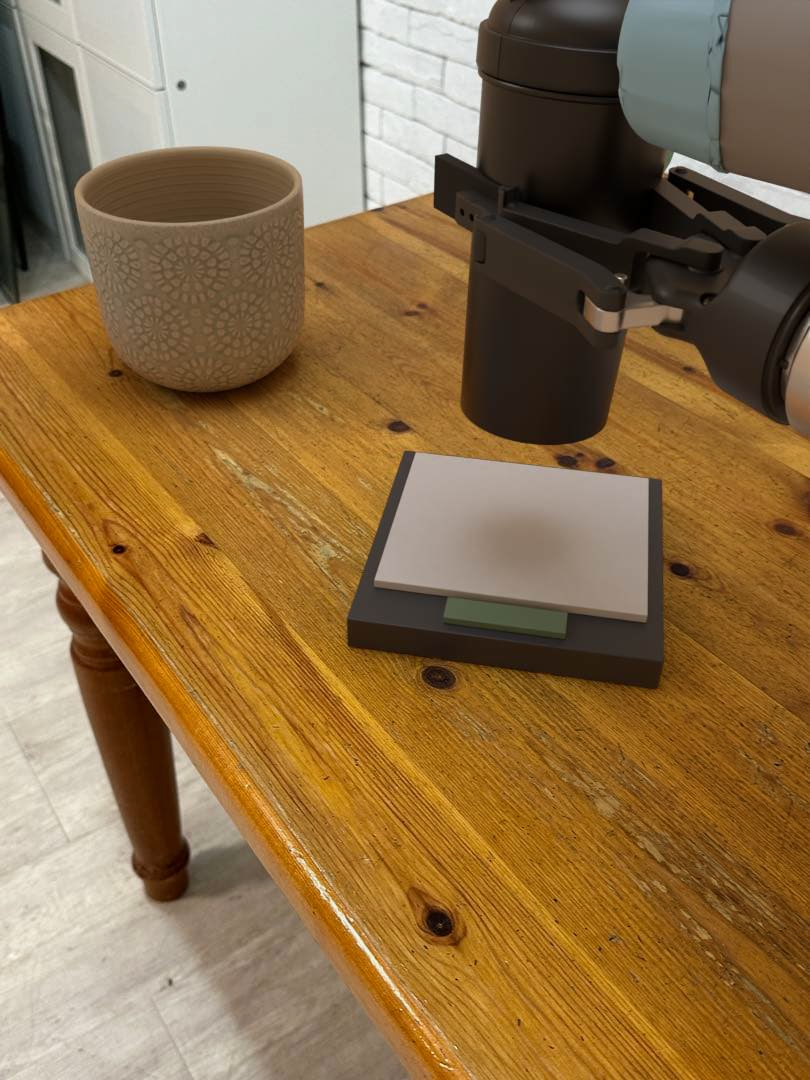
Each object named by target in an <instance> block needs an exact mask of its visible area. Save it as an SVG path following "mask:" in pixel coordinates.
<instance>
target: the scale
mask: <svg viewBox="0 0 810 1080" xmlns="http://www.w3.org/2000/svg"><path fill="white" fill-rule="evenodd" d="M663 522H664V521H663V478H655V477H654V478H653V477H646V476H638V475H637V476H636V475H627V474H619V473H611V472H610V473H609V472H601V471H600V472H599V471H593V470H592V471H591V470H585V469H584V470H583V469H573V468H566V467H565V468H564V467H558V466H549V465H541V464H540V465H539V464H530V463H521V462H511V461H504V460H495V459H494V460H493V459H487V458H486V459H485V458H477V457H468V456H460V455H449V454H441V453H432V452H423V451H413V450H404V451H403V453H402V456H401V459H400V462H399V465H398V468H397V470H396V474H395V477H394V480H393V482H392V486H391V489H390V491H389V494H388V497H387V500H386V502H385V506H384V509H383V511H382V515H381V518H380V520H379V523H378V525H377V526H378V527H377V529H376V532H375V535H374V538H373V541H372V544H371V547H370V549H369V553H368V555H367V559H366V562H365V565H364V568H363V570H362V572H361V573H362V574H361V576H360V579H359V582H358V585H357V588H356V591H355V593H354V597H353V599H352V602H351V605H350V608H349V611H348V613H347V617H346V633H347V634H346V635H347V646H348V647H355V648H363V649H370V650H377V651H383V652H390V653H391V652H392V653H398V654H404V655H412V656H420V657H427V658H435V659H440V660H449V661H455V662H460V663H461V662H462V663H470V664H476V665H484V666H490V667H491V666H492V667H498V668H505V669H511V670H519V671H526V672H534V673H541V674H547V675H555V676H562V677H568V678H569V677H570V678H576V679H583V680H592V681H597V682H603V683H611V684H620V685H627V686H633V687H641V688H649V689H654V690H655V689H657V690H658V688H659V685H660V681H661V676H662V672H663V668H664V664H665V663H664V662H665V645H664V643H665V641H664V640H665V638H664V637H665V634H664V628H665V627H664V533H663V532H664V531H663V530H664V527H663V526H664V525H663Z"/></svg>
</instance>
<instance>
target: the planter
mask: <svg viewBox="0 0 810 1080" xmlns="http://www.w3.org/2000/svg"><path fill="white" fill-rule="evenodd" d="M303 185H304V184H303V177H302V175H301V174H300V172H299V170H298V169H297V168H296V167H295V166H294V165H292V164H290V163H289V162H287V161H286V160H285V159H282V158H280V157H278V156H276V155H275V156H274V155H271V154H269V153H266V152H265V153H264V152H261V151H256V150H252V149H246V148H239V147H230V146H214V145H213V146H212V145H197V146H195V145H194V146H191V145H190V146H177V147H176V146H175V147H166V148H158V149H151V150H146V151H141V152H136V153H131V154H127V155H125V156H121V157H118V158H115V159H112V160H109V161H106V162H104V163H101V164H100V165H97V166H96V167H94V168H92V169H91V170H89V171H87V172H86V173H85V174H84V175H83V176H82V177H80V179H79V180H78V181H77V183H76V185H75V187H74V191H73V193H74V201H75V206H76V211H77V216H78V217H77V218H78V221H79V226H80V231H81V234H82V240H83V243H84V248H85V252H86V253H85V254H86V257H87V262H88V266H89V269H90V273H91V277H92V283H93V287H94V291H95V295H96V300H97V305H98V309H99V314H100V317H101V321H102V324H103V327H104V331H105V334H106V336H107V340H108V341H109V344H110V346H111V347H112V349H113V350H114V352H115V353H116V355H117V356H118V358H119V359H120V360H121V361H122V362H123V363H124V364H125V365H126V366H127V367H128V368H130V369H131V370H132V371H133V372H135V373H136V374H138V375H139V376H141V377H142V378H144V379H146V380H148V381H150V382H152V383H155V384H156V385H159V386H162V387H163V388H168V389H171V390H174V391H175V390H176V391H181V392H187V393H216V392H225V391H229V390H234V389H238V388H241V387H245V386H247V385H250V384H252V383H255V382H256V381H258V380H261V379H263V378H264V377H265V376H267V375H269V374H270V373H271V372H273V371H275V369H277V368H278V367H279V366H280V365H281V364H282V363H283V362H284V361H285V360H286V359H287V358H288V357H289V355H290V354H291V353H292V352H293V351H294V349H295V347H296V345H297V344H298V341H299V339H300V336H301V335H302V330H303V327H304V321H305V309H306V277H305V275H306V273H305V268H306V267H305V209H304V208H305V207H304V205H305V204H304V186H303Z"/></svg>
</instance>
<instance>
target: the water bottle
mask: <svg viewBox="0 0 810 1080" xmlns="http://www.w3.org/2000/svg"><path fill="white" fill-rule="evenodd" d="M628 3H629V0H496V1H495V2H494V4H493V5H492V7H491V8H490V9H491V10H490V12H489V13H488V17H487V18H486V19H482V21H480V23H479V26H478V32H477V33H478V34H477V45H476V55H475V63H476V66H477V75H478V76H479V78H480V79H481V91H480V104H479V105H480V107H479V120H478V121H479V122H478V133H477V134H478V135H477V136H478V137H477V150H476V151H477V152H476V165H475V167H476V168H478V170H479V172H480V173H481V174H482V175H483V176H484V177H486V178H487V179H488V180H490V181H492V182H494V183H496V184H498V185H500V186H502V185H507V184H514V185H519V192H521V193H522V194H521V202H522V203H525V204H528V205H532V206H535V207H538V208H541V209H545V210H548V211H551V212H555V213H558V214H561V215H565V216H568V217H571V218H574V219H578V220H581V221H584V222H588V223H591V224H594V225H598V226H601V227H604V228H607V229H611V230H614V231H617V232H621V233H624V234H627V235H629V234H631V233H633V232H635V231H636V230H638V229H641V228H646V226H647V220H648V215H649V209H650V204H651V198H652V193H653V189H654V188H655V187H657V186H658V185H659V183H660V182H661V179H662V177H663V175H664V173H663V171H664V166H665V162H666V157H667V153H668V150H667V149H664V148H661V147H658V146H655V145H652V144H650V143H648V142H646V141H645V140H643V139H642V138H641V137H640V136H639V135H637V134H636V132H635V131H634V130H633V129H632V127H631V126H630V124H629V123H628V121H627V119H626V117H625V115H624V112H623V109H622V106H621V103H620V98H619V91H618V90H619V83H620V74H619V69H618V66H617V53H618V44H619V38H620V33H621V28H622V24H623V20H624V16H625V12H626V9H627V6H628ZM472 247H473V233H472V232H471V238H470V252H469V253H470V254H469V268H468V281H467V296H466V297H467V298H466V309H465V310H466V311H465V312H466V313H465V324H464V325H465V326H464V327H465V328H464V341H463V356H462V371H461V384H460V399H459V407H460V410H461V412H462V413H463V415H464V416H465V418H466V419H467V420H468V421H469V422H470V423H472V424H473V425H474V426H476V427H477V428H479V429H480V430H482V431H484V432H486V433H488V434H490V435H493V436H496V437H498V438H501V439H505V440H507V441H512V442H516V443H521V444H525V445H526V444H527V445H535V446H562V445H563V446H564V445H569V444H570V445H571V444H575V443H580V442H583V441H586V440H588V439H591V438H594V437H595V436H597V435H598V434H599V433H600V432H602V431H603V430H604V428H605V427H606V426H607V423H608V419H609V415H610V410H611V406H612V401H613V397H614V392H615V388H616V383H617V379H618V375H619V370H620V365H621V362H622V357H623V353H624V348H625V344H626V338H627V335H628V331H629V330H630V329H623V330H621V337H620V343H619V346H618V347H616V348H614V349H599V348H597V347H594V346H593V345H592V344H591V343H590V342H589V341H588V340H587V339H586V338H585V337H584V335H583V334H582V333H581V332H580V331H579V330H578V329H577V328H576V326H574V325H572V324H570V323H569V322H567V321H565V320H563V319H561V318H560V317H558V316H556V315H554V314H552V313H551V312H549V311H547V310H545V309H543V308H541V307H540V306H538V305H536V304H534V303H532V302H531V301H529V300H527V299H525V298H523V297H522V296H520V295H518V294H516V293H514V292H513V291H511V290H509V289H507V288H505V287H503V286H502V285H500V284H498V283H496V282H494V281H493V280H491V279H489V278H487V277H485V276H484V275H482V274H480V273H478V272H476V271H475V270H473V269H472Z"/></svg>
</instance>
